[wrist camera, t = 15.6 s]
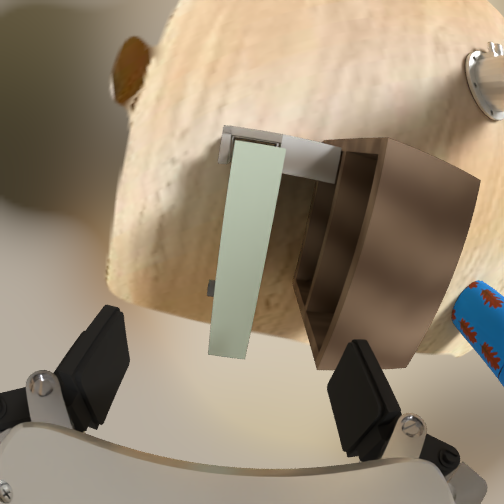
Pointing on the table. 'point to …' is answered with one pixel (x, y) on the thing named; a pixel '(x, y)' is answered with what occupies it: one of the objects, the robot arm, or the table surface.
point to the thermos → (482, 323)
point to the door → (243, 245)
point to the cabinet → (372, 240)
